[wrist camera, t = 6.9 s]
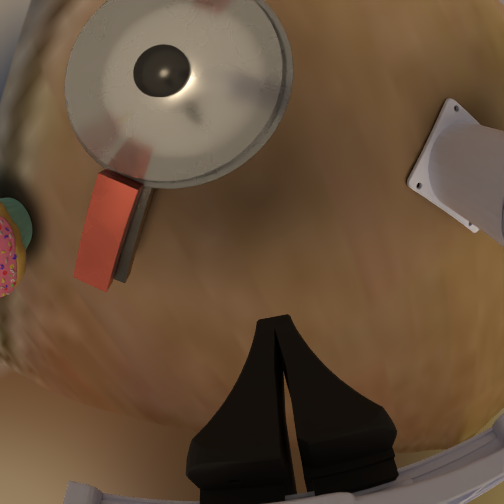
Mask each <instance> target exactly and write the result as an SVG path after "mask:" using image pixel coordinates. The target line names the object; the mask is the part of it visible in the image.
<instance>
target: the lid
mask: <svg viewBox="0 0 504 504" xmlns="http://www.w3.org/2000/svg"><path fill="white" fill-rule="evenodd" d="M281 80H282V56H281V48H280V45H279V41H278V38H277V35H276V33H275V30H274V28H273V26H272V24H271V22H270V21H269V19H268V18H267V16H266V15H265V13H264V12H263V10H262V9H261V8H260V7H259V6H258V5H257V4H256V3H255V2H254V1H253V0H109V1H107V2H106V3H105V4H104V5H103V6H102V7H101V8H100V9H99V10H98V11H97V12H96V13H95V14H94V15H93V16H92V17H91V18H90V20H89V21H88V22H87V24H86V25H85V27H84V28H83V29H82V31H81V33H80V34H79V36H78V38H77V40H76V42H75V44H74V47H73V49H72V52H71V55H70V58H69V62H68V66H67V70H66V79H65V96H66V102H67V108H68V112H69V115H70V119H71V121H72V124H73V126H74V128H75V130H76V132H77V134H78V135H79V137H80V139H81V140H82V142H83V143H84V144H85V145H86V147H87V148H88V149H89V150H90V151H91V152H92V153H93V154H94V155H95V156H96V157H97V158H98V159H99V160H101V161H102V162H103V163H105V164H106V165H108V166H109V167H111V168H113V169H115V170H117V171H119V172H121V173H123V174H126V175H129V176H132V177H134V178H139V179H144V180H150V181H177V180H183V179H189V178H192V177H196V176H199V175H203V174H205V173H207V172H210V171H212V170H214V169H217V168H218V167H220V166H222V165H224V164H225V163H227V162H229V161H230V160H232V159H233V158H234V157H236V156H237V155H238V154H240V153H241V152H242V151H243V150H244V149H245V148H246V147H247V146H248V145H249V144H250V143H252V141H253V140H254V139H255V138H256V137H257V135H258V134H259V133H260V132H261V130H262V129H263V127H264V126H265V124H266V123H267V121H268V119H269V118H270V116H271V113H272V111H273V109H274V107H275V105H276V102H277V98H278V95H279V92H280V87H281ZM143 186H144V184H143V183H141V182H138V181H136V180H134V179H131V178H129V177H127V176H124V175H122V174H120V173H117V172H115V171H112V170H110V169H108V168H107V169H105V170H103V171H101V172H100V173H98V177H97V180H96V183H95V187H94V190H93V194H92V197H91V201H90V204H89V208H88V212H87V216H86V220H85V224H84V228H83V232H82V237H81V241H80V246H79V251H78V255H77V260H76V266H75V271H74V277H75V278H77V279H79V280H81V281H83V282H85V283H87V284H89V285H92V286H94V287H96V288H98V289H100V290H102V291H105V292H107V290H108V289H109V287H110V285H111V284H112V282H113V278H114V275H115V271H116V268H117V264H118V261H119V257H120V254H121V251H122V248H123V244H124V241H125V238H126V235H127V232H128V229H129V226H130V223H131V220H132V217H133V214H134V211H135V208H136V205H137V203H138V200H139V197H140V194H141V192H142V189H143Z"/></svg>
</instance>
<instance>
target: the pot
mask: <svg viewBox="0 0 504 504" xmlns="http://www.w3.org/2000/svg"><path fill="white" fill-rule="evenodd" d="M108 1H109V0H108ZM253 1H254V2H255V3H256V4H257V5H258V6H259V7H260V8H261V9H262V10H263V12H264V13H265V15H266V16H267V18H268V19H269V21H270V22H271V24H272V26H273V28H274V30H275V33H276V35H277V38H278V41H279V45H280V48H281V56H282V80H281V87H280V92H279V95H278V98H277V102H276V105H275V107H274V109H273V111H272V113H271V116H270V118H269V119H268V121H267V123H266V124H265V126H264V127H263V129H262V130H261V132H260V133H259V134H258V135H257V137H256V138H255V139H254V140H253V141H252V143H250V144H249V145H248V146H247V147H246V148H245V149H244V150H243V151H242V152H241V153H240V154H238V155H237V156H236V157H234V158H233V159H232V160H230V161H229V162H227V163H225V164H224V165H222V166H220V167H218V168H217V169H214V170H212V171H210V172H207V173H205V174H203V175H199V176H196V177H192V178H189V179H183V180H177V181H150V180H144V179H139V178H134V177H132V176H129V175H126V174H123V173H121V172H119V171H117V170H115V169H113V168H111V167H109V166H108V165H106V164H105V163H103V162H102V161H101V160H99V159H98V158H97V157H96V156H95V155H94V154H93V153H92V152H91V151H90V150H89V149H88V148H87V147H86V145H85V144H84V143H83V142H82V140H81V139H80V137H79V135H78V134H77V132H76V130H75V128H74V126H73V124H72V121H71V119H70V115H69V112H68V108H67V102H66V96H65V103H66V108H67V113H68V117H69V120H70V123H71V125H72V128H73V130H74V132H75V134H76V136H77V138H78V140H79V141H80V143H81V144H82V146H83V147H84V148H85V150H86V151H87V152H88V153H89V155H90V156H91V157H92V158H93V159H94V160H95V161H96V162H97V163H99V164H100V165H101V166H102V167H104V168H105V169H107V168H108V169H110V170H112V171H115V172H117V173H120V174H122V175H124V176H127V177H129V178H131V179H134V180H136V181H138V182H141V183H143V184H144V186H143V189H142V192H141V194H140V197H139V200H138V203H137V205H136V208H135V211H134V214H133V217H132V220H131V223H130V226H129V229H128V232H127V235H126V238H125V241H124V244H123V248H122V251H121V254H120V257H119V261H118V264H117V268H116V271H115V275H114V278H113V279H115V280H118V281H121V282H123V283H125V282H126V280H127V278H128V277H129V275H130V272H131V268H132V264H133V260H134V257H135V253H136V249H137V246H138V242H139V239H140V235H141V232H142V228H143V225H144V221H145V218H146V215H147V212H148V208H149V205H150V202H151V199H152V196H153V193H154V190H155V188H168V189H174V188H185V187H191V186H195V185H200V184H203V183H206V182H209V181H212V180H215V179H217V178H220V177H222V176H224V175H226V174H228V173H230V172H231V171H233V170H235V169H236V168H238V167H239V166H241V165H243V164H244V163H245V162H246V161H247V160H249V159H250V158H251V157H252V156H254V155H255V154H256V153H257V152H258V151H259V150H260V149H261V147H262V146H263V145H264V144H265V143H266V142H267V141H268V139H269V138H270V137H271V135H272V134H273V133H274V131H275V130H276V128H277V126H278V124H279V122H280V121H281V119H282V117H283V114H284V112H285V109H286V107H287V104H288V101H289V97H290V93H291V89H292V80H293V58H292V53H291V48H290V44H289V41H288V38H287V35H286V32H285V30H284V28H283V26H282V24H281V22H280V21H279V19H278V17H277V16H276V15H275V13H274V12H273V11H272V9H271V8H270V7H269V6H268V5H267V4H266V3H265V2H264V1H263V0H253ZM106 2H107V1H106ZM106 2H105V3H106ZM105 3H104V4H105ZM104 4H103V5H104ZM103 5H102V6H103ZM102 6H101V7H102ZM101 7H100V8H101ZM100 8H99V9H100ZM99 9H98V10H99ZM98 10H97V11H98ZM97 11H96V12H97ZM96 12H95V13H96ZM95 13H94V14H95ZM94 14H93V15H94ZM89 20H90V19H89ZM86 24H87V23H86ZM86 24H85V25H86ZM84 27H85V26H84ZM80 33H81V32H80ZM73 47H74V46H73ZM72 49H73V48H72ZM71 52H72V51H71ZM70 55H71V54H70ZM69 58H70V57H69ZM68 62H69V60H68ZM67 66H68V64H67ZM66 70H67V69H66ZM65 79H66V75H65Z"/></svg>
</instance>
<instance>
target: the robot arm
mask: <svg viewBox="0 0 504 504" xmlns="http://www.w3.org/2000/svg"><path fill="white" fill-rule="evenodd" d="M454 106H455V107H456V111H455V110H454ZM418 183H419V184H420V185H419V187H418V188H417V187H416V186H417V184H418ZM407 185H408V187H409V188H411V189H413V190H414V191H416V192H417V193H419V194H420V195H422V196H423V197H425V198H426V199H428V200H429V201H431V202H432V203H434V204H435V205H436V206H438V207H439V208H441V209H442V210H444V211H445V212H446V213H448V214H449V215H451V216H452V217H453V218H455V219H456V220H457V221H459V222H460V223H462V224H463V225H464V226H466V227H467V228H468V229H470V230H471V231H472V232H474V233H476V232H478V230H479V229H480V230H482V231H483V232H484V233H486V234H487V235H489V236H490V237H491V238H493V239H494V240H495V241H497V242H498V243H499V244H500V245H502V246H503V247H504V131H501V130H498V129H494V128H490V127H486V126H482V125H480V124H479V123H478V122H477V121H476V120H475V119H474V118H473V117H472V116H471V115H470V114H469V113H468V112H467V111H466V110H465V109H464V108H463V107H462V106H461V105H459V104H458V103H457V102H456V101H455V100H454V99H451V98H448V99H446V101H445V103H444V105H443V107H442V110H441V112H440V114H439V116H438V118H437V121H436V123H435V125H434V127H433V129H432V131H431V133H430V136H429V138H428V140H427V142H426V144H425V146H424V148H423V150H422V152H421V154H420V156H419V158H418V160H417V162H416V164H415V166H414V168H413V170H412V172H411V174H410V176H409V177H408V180H407ZM469 222H470V223H469ZM283 371H284V375H285V379H286V382H287V386H288V390H289V393H290V397H291V401H292V408H293V414H294V421H295V428H296V436H297V441H298V446H299V451H300V456H301V461H302V466H303V473H304V479H305V484H306V488H307V493H300V494H297V491H296V484H295V477H294V471H293V464H292V458H291V451H290V444H289V438H288V431H287V424H286V415H285V395H284V375H283ZM396 435H397V430H396V427H395V425H394V423H393V421H392V420H391V418H390V417H389V415H388V414H387V412H386V411H385V409H384V408H383V407H382V406H380V405H378V404H376V403H374V402H372V401H371V400H369V399H367V398H366V397H364V396H362V395H361V394H359V393H358V392H356V391H355V390H354V389H352V388H351V387H350V386H348V385H347V384H346V383H344V382H343V381H342V380H340V379H339V378H338V377H337V376H336V375H335V374H334V373H332V372H331V371H330V370H329V369H328V368H327V367H326V366H325V365H324V364H323V363H322V362H321V361H320V360H319V358H318V357H317V356H316V355H315V354H314V353H313V351H312V350H311V349H310V348H309V346H308V345H307V344H306V342H305V341H304V340H303V338H302V337H301V335H300V334H299V332H298V331H297V329H296V327H295V326H294V324H293V322H292V319H291V317H290V316H289V315H288V314H286V315H281V316H276V317H271V318H265V319H260V320H258V321H257V325H256V331H255V335H254V339H253V343H252V346H251V349H250V352H249V355H248V358H247V360H246V362H245V365H244V367H243V369H242V372H241V374H240V376H239V378H238V380H237V382H236V384H235V385H234V387H233V389H232V391H231V392H230V394H229V395H228V397H227V399H226V400H225V402H224V403H223V405H222V406H221V407H220V409H219V410H218V411H217V412H216V414H215V415H214V416H213V417H212V419H211V420H210V421H209V422H208V423H207V425H206V426H205V427H204V428H203V429H202V430H201V431H200V432H199V433H198V434H197V435H196V436H195V437H194V438H193V439H192V441H191V444H190V447H189V452H188V456H187V465H186V476H187V477H188V478H189V479H190V480H191V481H192V482H193V483H194V484H195V485H196V486H197V487H198V488H200V501H198V502H197V501H168V500H155V499H143V498H134V497H126V496H119V495H112V494H107V493H102V492H101V491H100V490H98V489H97V488H96V487H93V486H91V485H87V484H83V483H78V482H74V481H69V482H68V486H67V490H66V494H65V498H64V502H63V504H466V503H468V502H469V501H471V500H473V499H475V498H476V497H478V496H480V495H481V494H483V493H485V492H486V491H488V490H490V489H491V488H493V487H494V486H496V485H497V484H499V483H501V482H502V481H504V414H502V415H501V416H500V417H499V418H498V419H497V420H496V421H495V422H494V424H493V426H492V427H491V428H489V429H487V430H485V431H483V432H482V433H480V434H478V435H476V436H474V437H472V438H470V439H468V440H466V441H464V442H462V443H460V444H458V445H456V446H454V447H452V448H449V449H447V450H445V451H443V452H440V453H438V454H436V455H433V456H431V457H428V458H426V459H424V460H421V461H418V462H416V463H413V464H410V465H408V466H405V467H402V468H400V469H397V467H396V464H395V461H394V457H395V454H394V451H393V448H392V446H393V444H394V441H395V438H396Z"/></svg>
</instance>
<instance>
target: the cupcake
mask: <svg viewBox="0 0 504 504" xmlns="http://www.w3.org/2000/svg"><path fill="white" fill-rule="evenodd" d="M31 238H32V223H31V219H30V216H29V214H28V212H27V210H26V209H25V207H24V206H23V205H22V204H21V203H20V202H19V201H17V200H16V199H13V198H0V297H3V296H5V295H7V294H10V293H11V292H12V291H13V290H14V288H15V287H16V286H17V285H18V284H19V282H20V281H21V279H22V277H23V275H24V273H25V263H26V249H27V247H28V245H29V243H30V241H31Z"/></svg>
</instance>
